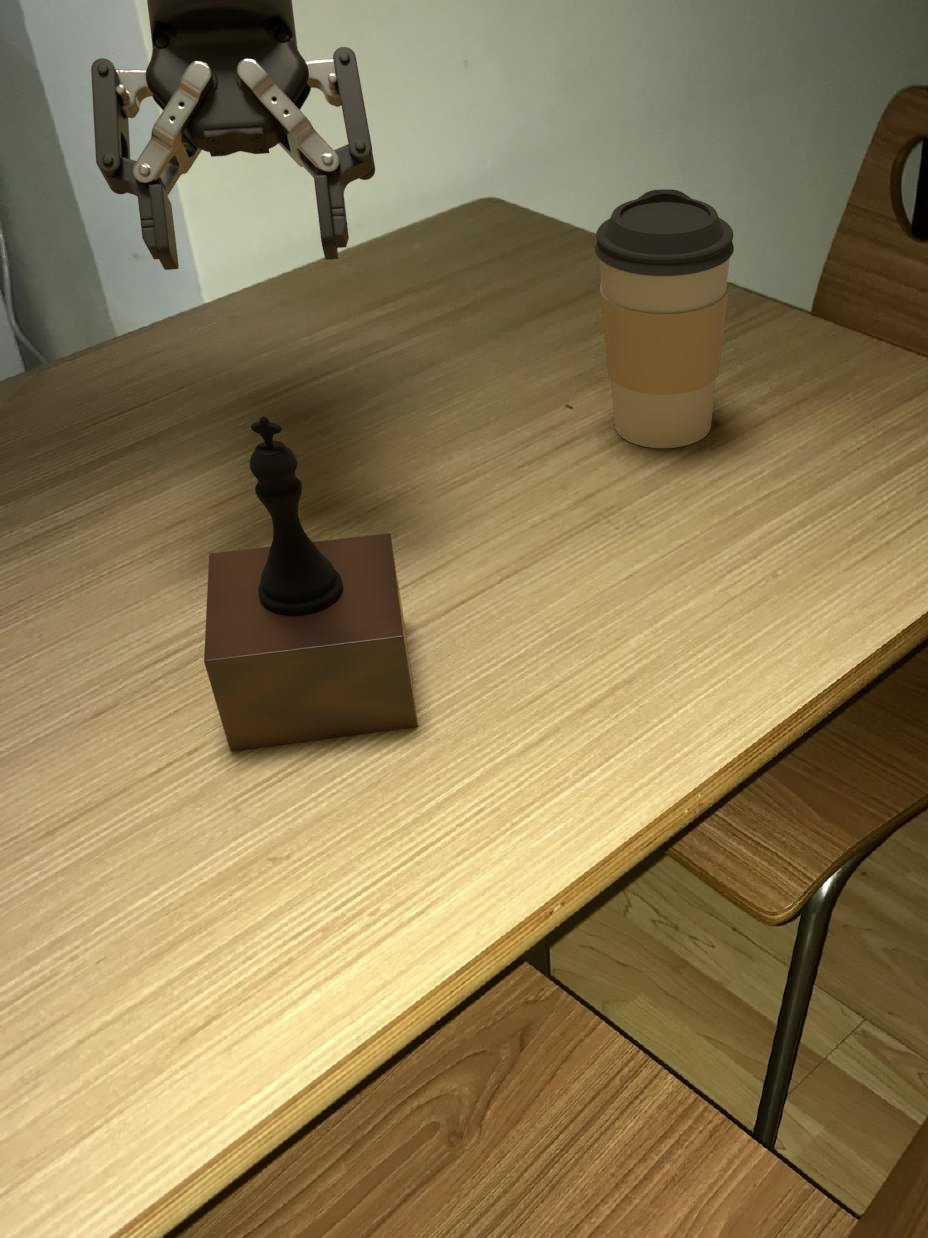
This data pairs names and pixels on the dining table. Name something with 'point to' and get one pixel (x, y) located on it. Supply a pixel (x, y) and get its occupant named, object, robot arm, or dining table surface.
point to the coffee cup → (664, 314)
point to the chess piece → (288, 534)
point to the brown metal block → (309, 650)
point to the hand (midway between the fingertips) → (250, 258)
